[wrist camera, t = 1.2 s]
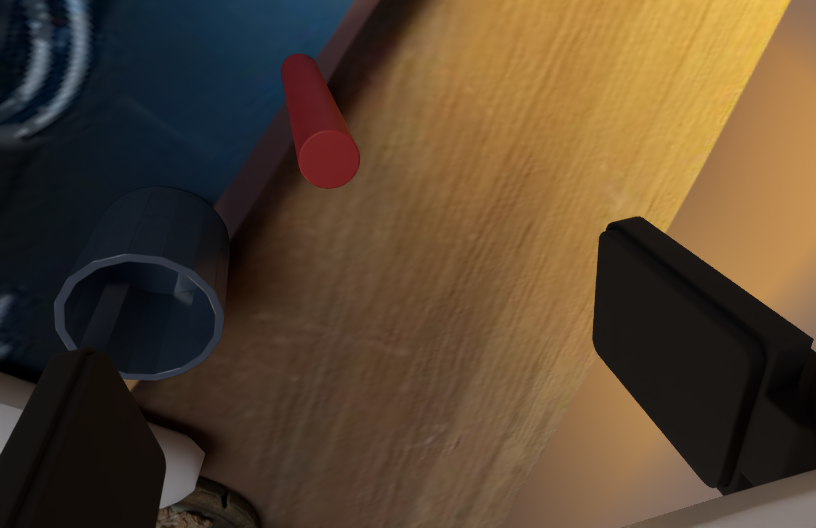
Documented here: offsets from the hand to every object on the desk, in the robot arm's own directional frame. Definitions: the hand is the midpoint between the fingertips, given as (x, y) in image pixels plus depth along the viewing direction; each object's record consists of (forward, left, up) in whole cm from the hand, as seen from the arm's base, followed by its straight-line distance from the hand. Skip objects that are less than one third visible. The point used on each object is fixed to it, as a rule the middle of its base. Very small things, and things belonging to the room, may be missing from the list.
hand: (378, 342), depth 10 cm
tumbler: (+7, -10, -23) cm, 26 cm away
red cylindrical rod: (-1, 0, -23) cm, 23 cm away
